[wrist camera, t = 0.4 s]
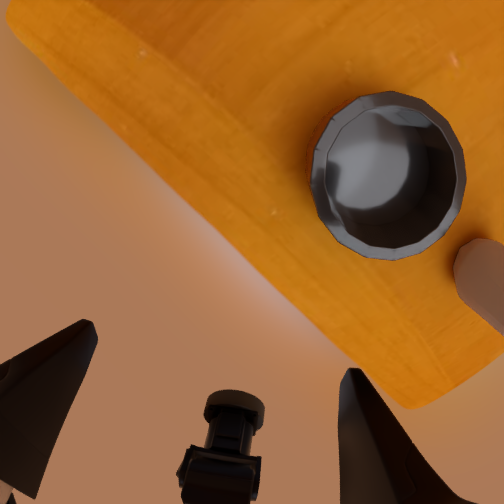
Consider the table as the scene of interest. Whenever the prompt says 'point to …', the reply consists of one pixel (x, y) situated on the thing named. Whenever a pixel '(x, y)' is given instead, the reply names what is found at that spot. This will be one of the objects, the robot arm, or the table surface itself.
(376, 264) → the table surface
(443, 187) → the holder
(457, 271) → the salt shaker
